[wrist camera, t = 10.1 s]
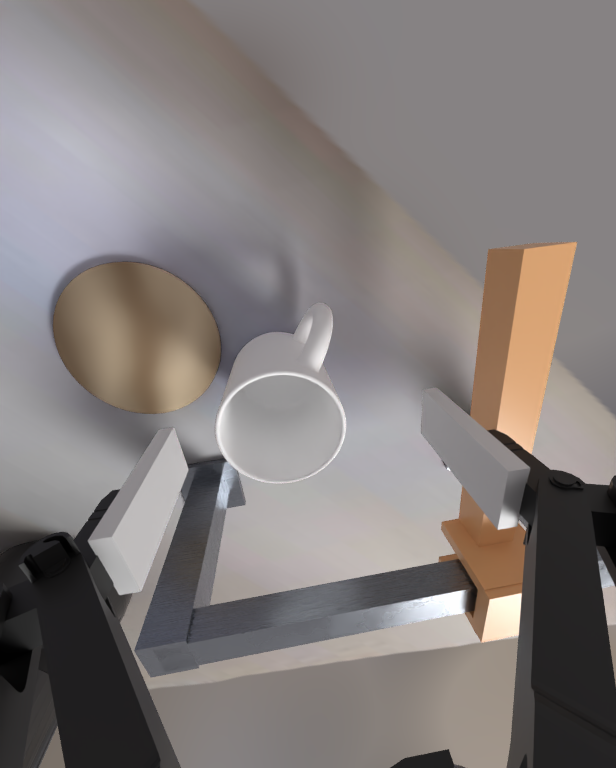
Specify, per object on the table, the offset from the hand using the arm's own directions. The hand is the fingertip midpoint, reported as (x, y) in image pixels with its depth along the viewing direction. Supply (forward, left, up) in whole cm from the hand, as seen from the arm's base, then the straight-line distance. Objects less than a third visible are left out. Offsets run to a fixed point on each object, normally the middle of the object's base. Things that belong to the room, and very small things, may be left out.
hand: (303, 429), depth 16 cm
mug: (0, 0, -13) cm, 13 cm away
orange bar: (+12, -4, -2) cm, 12 cm away
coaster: (-12, +3, -13) cm, 18 cm away
